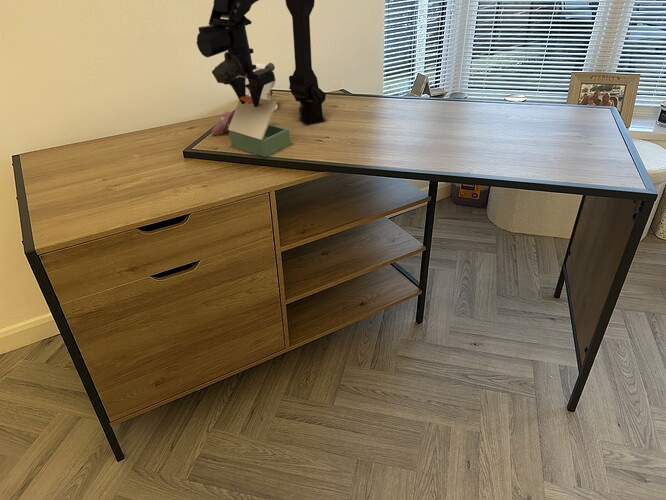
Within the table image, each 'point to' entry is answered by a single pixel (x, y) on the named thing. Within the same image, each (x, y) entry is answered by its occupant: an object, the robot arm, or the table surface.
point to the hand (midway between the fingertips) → (249, 105)
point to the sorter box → (262, 141)
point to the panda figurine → (267, 87)
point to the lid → (252, 117)
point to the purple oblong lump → (223, 123)
